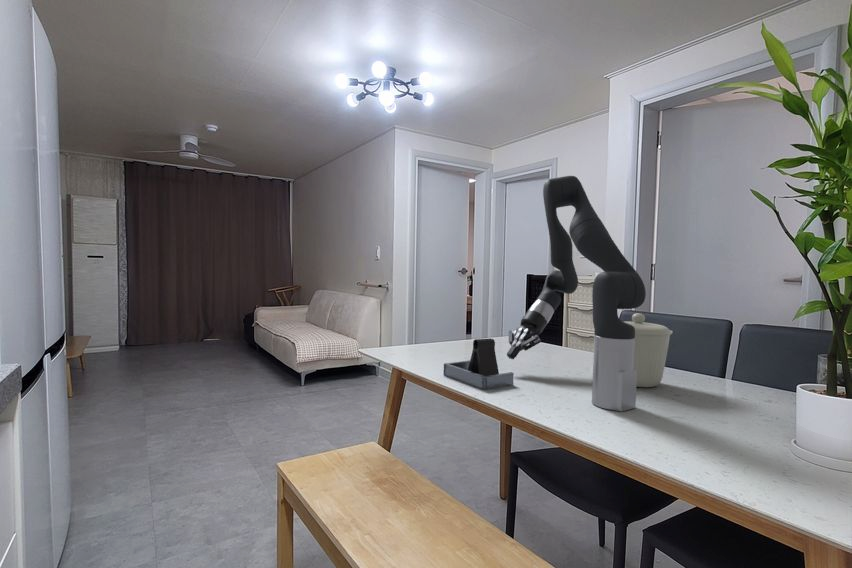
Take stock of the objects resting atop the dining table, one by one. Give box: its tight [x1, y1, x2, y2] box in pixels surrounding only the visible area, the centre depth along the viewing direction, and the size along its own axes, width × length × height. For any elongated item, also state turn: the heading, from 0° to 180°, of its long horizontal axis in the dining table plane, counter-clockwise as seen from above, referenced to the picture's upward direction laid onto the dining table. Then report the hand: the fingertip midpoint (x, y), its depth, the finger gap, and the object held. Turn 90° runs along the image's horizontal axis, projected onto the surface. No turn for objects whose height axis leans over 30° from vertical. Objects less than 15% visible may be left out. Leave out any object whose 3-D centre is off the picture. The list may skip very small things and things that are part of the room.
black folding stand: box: [468, 338, 500, 376], centre depth 130 cm, size 9×6×12 cm, turn 27°
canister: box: [622, 312, 673, 388], centre depth 129 cm, size 18×18×21 cm
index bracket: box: [443, 359, 515, 391], centre depth 129 cm, size 19×11×4 cm, turn 34°
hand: (509, 357), depth 136 cm, fingers closed
